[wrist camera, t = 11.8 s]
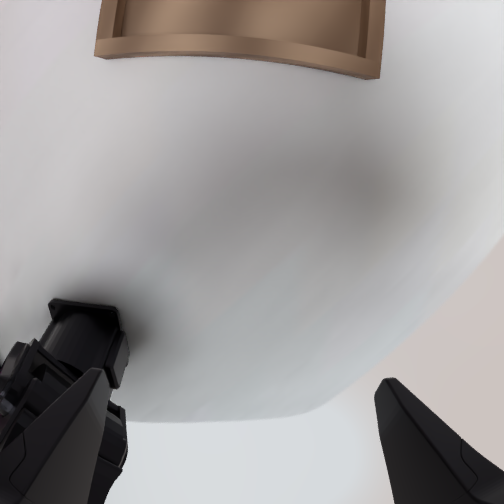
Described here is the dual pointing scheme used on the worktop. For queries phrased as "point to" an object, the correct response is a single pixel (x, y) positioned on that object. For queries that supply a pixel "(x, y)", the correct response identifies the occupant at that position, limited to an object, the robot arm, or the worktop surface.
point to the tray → (249, 31)
